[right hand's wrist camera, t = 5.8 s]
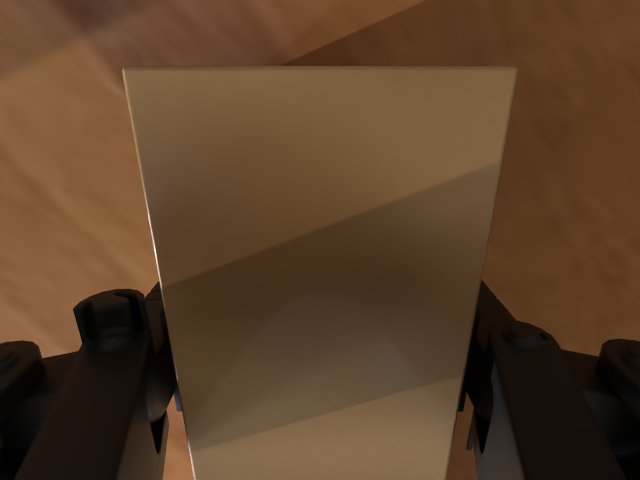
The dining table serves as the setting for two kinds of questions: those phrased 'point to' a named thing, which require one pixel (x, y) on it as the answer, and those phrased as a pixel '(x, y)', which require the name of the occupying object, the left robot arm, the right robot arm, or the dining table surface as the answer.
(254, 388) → the beam
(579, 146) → the dining table surface
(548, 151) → the dining table surface
